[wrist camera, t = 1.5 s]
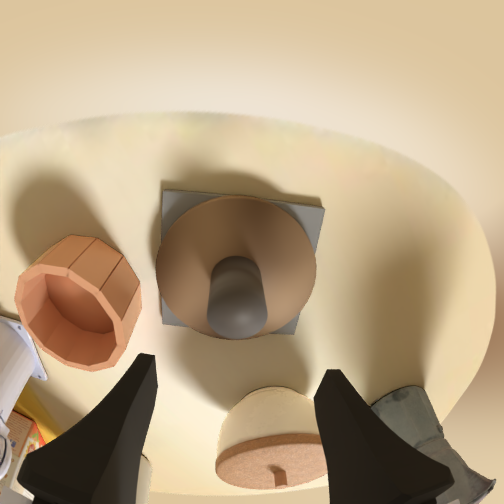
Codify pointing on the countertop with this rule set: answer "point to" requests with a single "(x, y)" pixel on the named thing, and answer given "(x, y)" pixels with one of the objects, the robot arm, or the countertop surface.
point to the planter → (80, 302)
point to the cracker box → (20, 449)
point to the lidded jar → (270, 441)
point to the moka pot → (431, 441)
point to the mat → (184, 200)
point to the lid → (235, 267)
